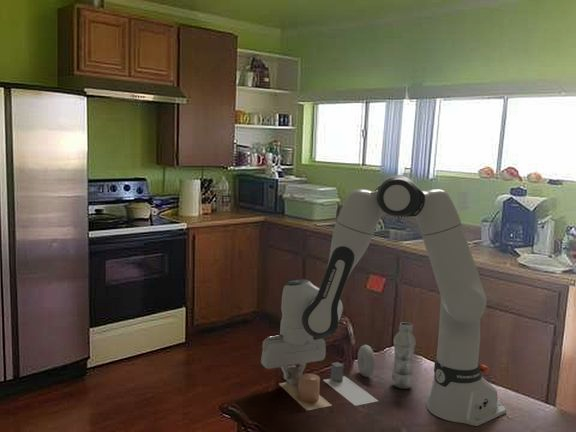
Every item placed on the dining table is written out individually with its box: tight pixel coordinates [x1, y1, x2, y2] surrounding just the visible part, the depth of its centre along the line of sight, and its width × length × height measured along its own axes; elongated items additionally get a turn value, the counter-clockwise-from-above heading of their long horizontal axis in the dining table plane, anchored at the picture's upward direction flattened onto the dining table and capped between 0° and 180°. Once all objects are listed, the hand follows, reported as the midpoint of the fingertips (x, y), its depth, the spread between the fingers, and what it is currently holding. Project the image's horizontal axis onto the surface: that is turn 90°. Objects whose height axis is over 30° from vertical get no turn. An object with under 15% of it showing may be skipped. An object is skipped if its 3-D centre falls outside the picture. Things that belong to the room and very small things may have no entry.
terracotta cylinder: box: [298, 372, 321, 403], centre depth 155 cm, size 6×6×6 cm
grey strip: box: [322, 361, 379, 407], centre depth 162 cm, size 8×18×6 cm, turn 26°
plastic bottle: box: [390, 321, 416, 390], centre depth 168 cm, size 6×7×20 cm
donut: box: [357, 344, 376, 378], centre depth 175 cm, size 10×4×10 cm, turn 10°
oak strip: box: [278, 365, 333, 411], centre depth 158 cm, size 8×18×6 cm, turn 26°
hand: (292, 377), depth 164 cm, fingers closed on oak strip, 2 cm apart
